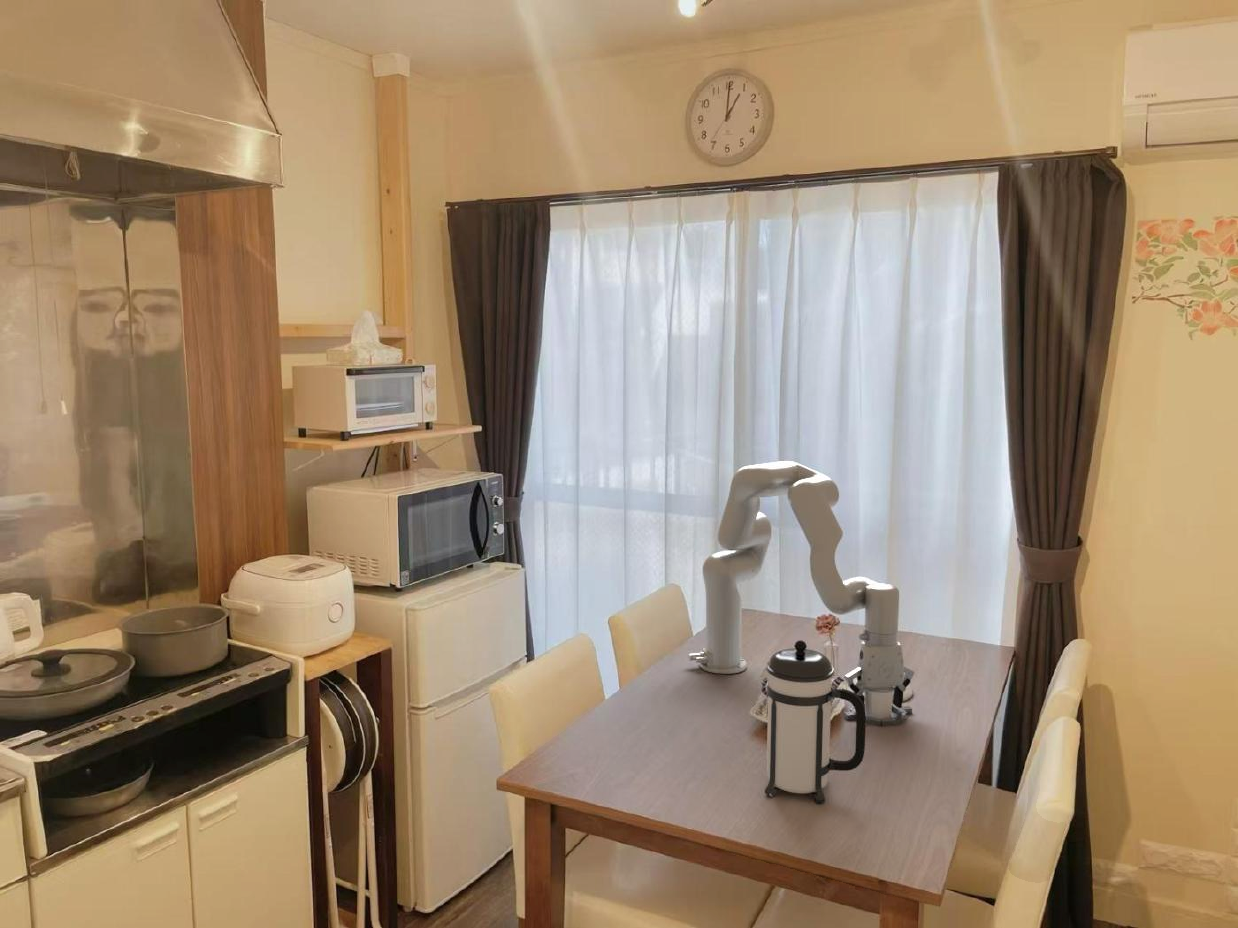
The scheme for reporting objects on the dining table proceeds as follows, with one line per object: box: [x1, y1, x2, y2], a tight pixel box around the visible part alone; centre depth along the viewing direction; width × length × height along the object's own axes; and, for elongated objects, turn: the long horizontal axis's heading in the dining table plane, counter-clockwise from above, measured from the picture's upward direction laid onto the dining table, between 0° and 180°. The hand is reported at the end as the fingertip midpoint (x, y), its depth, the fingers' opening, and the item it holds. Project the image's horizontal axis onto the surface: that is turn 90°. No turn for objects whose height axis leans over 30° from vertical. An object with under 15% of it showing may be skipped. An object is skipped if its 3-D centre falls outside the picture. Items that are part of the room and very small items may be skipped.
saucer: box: [846, 677, 913, 702], centre depth 234 cm, size 16×16×1 cm
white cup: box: [864, 687, 894, 719], centre depth 218 cm, size 7×7×7 cm
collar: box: [843, 700, 913, 727], centre depth 219 cm, size 17×12×1 cm
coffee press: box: [759, 640, 867, 805], centre depth 182 cm, size 17×16×30 cm
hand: (878, 707), depth 219 cm, fingers open, 9 cm apart
